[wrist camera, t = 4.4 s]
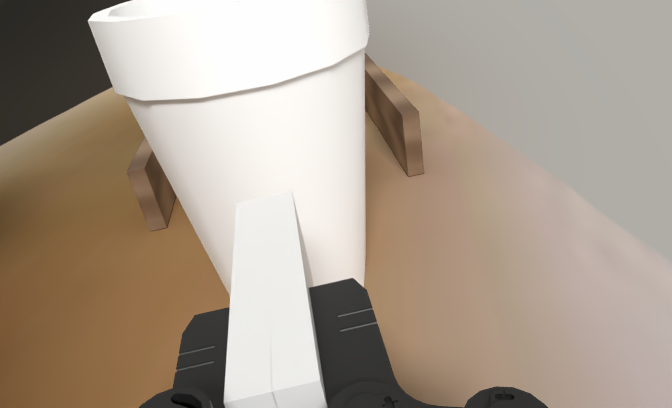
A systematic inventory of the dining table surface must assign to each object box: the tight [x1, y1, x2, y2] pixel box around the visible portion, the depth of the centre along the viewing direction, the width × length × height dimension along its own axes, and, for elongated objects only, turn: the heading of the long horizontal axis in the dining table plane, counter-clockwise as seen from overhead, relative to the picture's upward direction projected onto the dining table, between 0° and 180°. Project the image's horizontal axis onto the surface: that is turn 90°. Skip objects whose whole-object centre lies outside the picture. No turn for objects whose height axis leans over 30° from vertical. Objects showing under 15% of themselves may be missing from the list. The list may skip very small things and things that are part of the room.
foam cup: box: [88, 0, 370, 296], centre depth 21 cm, size 10×9×13 cm
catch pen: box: [127, 53, 424, 231], centre depth 37 cm, size 16×17×4 cm
